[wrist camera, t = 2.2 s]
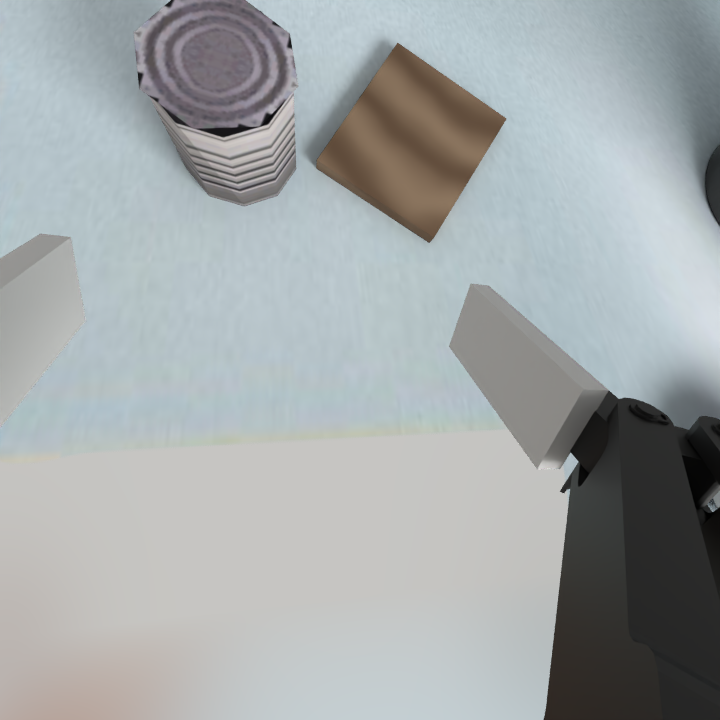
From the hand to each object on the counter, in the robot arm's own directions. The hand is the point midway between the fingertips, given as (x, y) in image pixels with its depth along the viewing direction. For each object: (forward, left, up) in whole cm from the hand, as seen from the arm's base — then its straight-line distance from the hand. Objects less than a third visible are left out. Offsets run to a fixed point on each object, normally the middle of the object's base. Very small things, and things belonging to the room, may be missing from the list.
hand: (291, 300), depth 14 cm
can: (-15, -16, -26) cm, 34 cm away
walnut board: (-26, -2, -26) cm, 37 cm away
